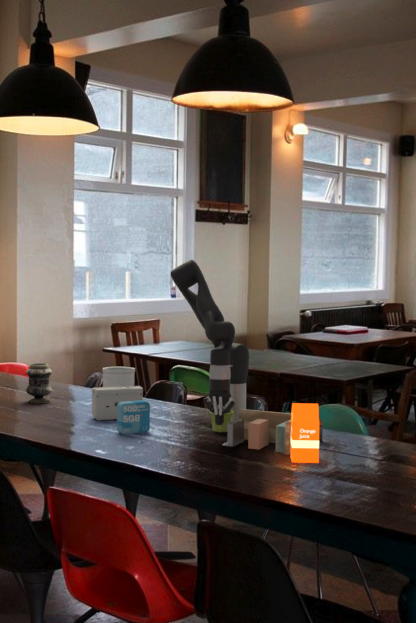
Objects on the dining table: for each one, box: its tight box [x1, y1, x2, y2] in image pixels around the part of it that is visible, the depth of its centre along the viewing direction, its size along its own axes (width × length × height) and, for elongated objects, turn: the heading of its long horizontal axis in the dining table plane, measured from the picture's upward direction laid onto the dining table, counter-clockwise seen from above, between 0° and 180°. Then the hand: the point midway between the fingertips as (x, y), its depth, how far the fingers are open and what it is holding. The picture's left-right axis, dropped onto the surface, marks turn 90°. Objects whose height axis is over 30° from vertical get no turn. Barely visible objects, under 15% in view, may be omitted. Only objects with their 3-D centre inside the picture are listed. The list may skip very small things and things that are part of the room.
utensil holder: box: [102, 366, 136, 387], centre depth 385 cm, size 15×15×18 cm
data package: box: [116, 400, 151, 435], centre depth 326 cm, size 12×4×12 cm, turn 118°
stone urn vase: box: [25, 362, 53, 404], centre depth 395 cm, size 12×12×18 cm
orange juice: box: [289, 402, 320, 467], centre depth 277 cm, size 8×9×20 cm
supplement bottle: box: [319, 413, 323, 444], centre depth 307 cm, size 6×6×11 cm
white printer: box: [91, 372, 144, 421], centre depth 354 cm, size 21×8×20 cm, turn 108°
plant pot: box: [209, 410, 234, 433], centre depth 325 cm, size 9×9×9 cm
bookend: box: [222, 419, 245, 448], centre depth 301 cm, size 10×4×8 cm, turn 154°
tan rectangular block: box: [247, 419, 270, 451], centre depth 297 cm, size 4×9×9 cm, turn 154°
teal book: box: [275, 421, 287, 454], centre depth 292 cm, size 10×4×9 cm, turn 154°
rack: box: [239, 408, 292, 456], centre depth 297 cm, size 16×25×12 cm, turn 64°
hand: (219, 424), depth 303 cm, fingers closed
